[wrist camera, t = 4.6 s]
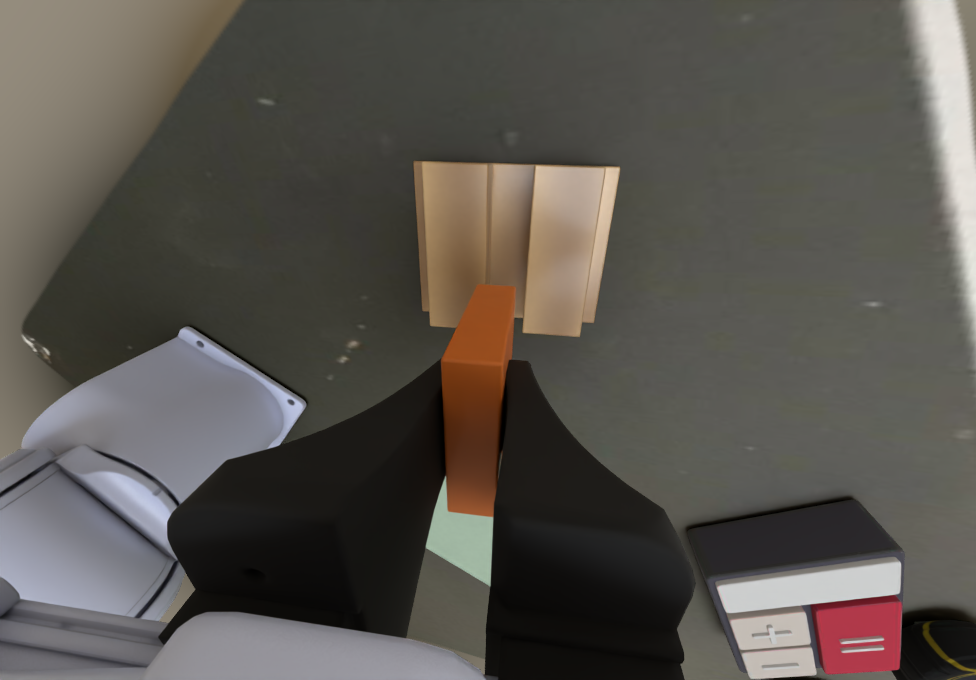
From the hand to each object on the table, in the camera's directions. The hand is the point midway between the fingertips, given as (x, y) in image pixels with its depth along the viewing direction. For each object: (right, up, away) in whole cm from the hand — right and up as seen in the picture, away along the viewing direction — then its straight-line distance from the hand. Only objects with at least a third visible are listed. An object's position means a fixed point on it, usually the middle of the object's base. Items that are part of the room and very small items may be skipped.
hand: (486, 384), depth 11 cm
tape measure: (+37, -23, +18) cm, 47 cm away
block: (0, +1, +2) cm, 3 cm away
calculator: (+23, -17, +17) cm, 34 cm away
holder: (+1, +7, +8) cm, 10 cm away
